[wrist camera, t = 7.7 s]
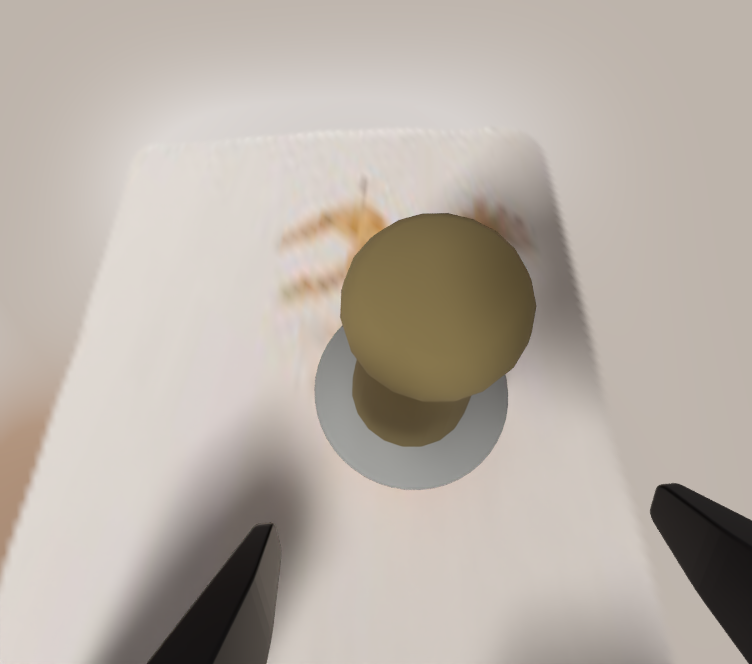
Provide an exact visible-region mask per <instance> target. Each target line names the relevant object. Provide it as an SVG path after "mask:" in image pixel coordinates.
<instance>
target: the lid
mask: <svg viewBox="0 0 752 664" xmlns="http://www.w3.org/2000/svg"><path fill="white" fill-rule="evenodd" d="M355 364H356V357H355V356H354V355H353V353H352V352H351V350H350V346H349V343H348V340H347V337H346V334H345V331H344V328H343V326H342V327H341V328H340V329H339V330H338V331H337V332H336V333H335V334H334V336H333V337H332V339H331V340H330V341H329V343H328V344H327V346H326V348H325V350H324V352H323V354H322V357H321V359H320V362H319V365H318V369H317V373H316V379H315V404H316V410H317V415H318V418H319V421H320V424H321V427H322V429H323V431H324V434H325V436H326V438H327V440H328V441H329V443H330V444H331V446H332V447H333V449H334V450H335V451H336V452H337V454H338V455H339V456H340V457H341V458H342V459H343V461H345V462H346V463H347V464H348V465H349V466H350V467H351V468H353V469H354V470H355V471H357V472H358V473H360V474H361V475H363V476H364V477H366V478H368V479H370V480H372V481H375V482H377V483H379V484H382V485H386V486H389V487H392V488H398V489H404V490H423V489H432V488H436V487H440V486H444V485H447V484H449V483H452V482H454V481H456V480H458V479H460V478H462V477H463V476H465V475H467V474H468V473H470V472H471V471H472V470H474V469H475V468H476V467H477V466H478V465H480V464H481V463H482V462H483V460H484V459H485V458H486V457H487V456H488V455H489V454H490V452H491V451H492V449H493V447H494V446H495V444H496V443H497V441H498V439H499V436H500V434H501V432H502V430H503V426H504V423H505V420H506V414H507V408H508V389H507V380H506V376H505V375H504V376H502V377H501V378H500V379H498V380H497V381H496V382H495V383H493V384H492V385H491V386H490V387H488V388H487V389H486V390H484V391H483V392H480V393H477V394H474V395H472V396H471V398H470V401H469V403H468V405H467V408H466V410H465V413H464V414H463V416H462V418H461V419H460V421H459V422H458V424H457V426H456V427H455V429H454V430H452V431H451V432H450V433H449V434H447V435H446V436H445V437H444V438H442V439H441V440H440V441H437V442H434V443H431V444H428V445H425V446H422V447H402V446H399V445H396V444H393V443H390V442H387V441H384V440H383V439H381V438H380V437H379V436H377V435H376V434H375V433H373V432H372V431H371V430H369V429H368V428H367V426H366V425H365V423H364V422H363V420H362V419H361V418H360V416H359V415H358V413H357V410H356V407H355V403H354V400H353V397H352V383H353V374H354V369H355Z"/></svg>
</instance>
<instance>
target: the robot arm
mask: <svg viewBox="0 0 752 664" xmlns="http://www.w3.org/2000/svg"><path fill="white" fill-rule="evenodd" d="M650 514H651V518H652V520H653V522H654V524H655V525H656V527H657V529H658V530H659V532H660V533H661V535H662V537H663V538H664V540H665V542H666V543H667V545H668V546H669V548H670V550H671V551H672V553H673V555H674V556H675V558H676V559H677V561H678V563H679V564H680V566H681V568H682V569H683V570H684V572H685V574H686V576H687V577H688V579H689V580H690V582H691V584H692V585H693V586H694V588H695V590H696V591H697V593H698V594H699V596H700V597H701V598H702V600H703V601H704V603H705V604H706V606H707V607H708V608H709V610H710V611H711V612H712V614H713V615H714V616H715V618H716V619H717V620H718V622H719V623H720V625H721V626H722V627H723V629H724V630H725V632H726V633H727V634H728V636H729V637H730V638H731V640H732V641H733V643H734V644H735V645H736V647H737V648H738V649H739V651H740V652H741V653H742V655H743V656H744V657H745V659H746V660H747V662H748V663H749V664H752V521H751V520H750V519H748V518H745V517H744V516H742V515H740V514H738V513H736V512H734V511H732V510H730V509H728V508H726V507H724V506H722V505H720V504H718V503H716V502H714V501H712V500H710V499H708V498H706V497H704V496H702V495H700V494H698V493H696V492H694V491H692V490H690V489H689V488H686V487H685V486H682V485H680V484H676V483H671V484H661V485H659V486H658V487H657V488H656V491H655V494H654V498H653V501H652V504H651V509H650ZM280 563H281V546H280V542H279V538H278V534H277V530H276V526H275V524H274V523H271V522H270V523H260V524H257V525H255V526H254V527H253V528H252V530H251V531H250V532H249V533H248V535H247V536H246V537H245V539H244V540H243V541H242V542H241V544H240V545H239V546H238V548H237V549H236V550H235V551H234V553H233V554H232V555H231V556H230V558H229V559H228V560H227V562H226V563H225V564H224V565H223V567H222V568H221V569H220V570H219V572H218V573H217V574H216V576H215V577H214V578H213V579H212V581H211V582H210V583H209V585H208V586H207V587H206V588H205V590H204V591H203V592H202V593H201V595H200V596H199V597H198V599H197V600H196V601H195V602H194V604H193V605H192V606H191V608H190V609H189V610H188V611H187V613H186V614H185V615H184V616H183V618H182V619H181V620H180V622H179V623H178V624H177V625H176V627H175V628H174V629H173V630H172V632H171V633H170V634H169V636H168V637H167V638H166V639H165V641H164V642H163V643H162V645H161V646H160V647H159V648H158V650H157V651H156V652H155V653H154V655H153V656H152V657H151V659H150V660H149V661H148V662H147V664H266V663H267V658H268V654H269V649H270V643H271V638H272V631H273V624H274V615H275V606H276V598H277V589H278V580H279V571H280Z"/></svg>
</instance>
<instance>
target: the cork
mask: <svg viewBox="0 0 752 664" xmlns="http://www.w3.org/2000/svg"><path fill="white" fill-rule="evenodd" d="M535 310H536V302H535V297H534V292H533V286H532V281H531V278H530V276H529V273H528V271H527V269H526V267H525V266H524V264H523V262H522V260H521V259H520V257H519V255H518V253H517V252H516V250H515V249H514V248H513V247H512V246H511V245H510V244H509V243H508V242H507V241H506V240H505V239H504V238H503V237H502V236H501V235H499V234H498V233H497V232H496V231H494V230H492V229H491V228H489V227H487V226H485V225H483V224H481V223H479V222H477V221H475V220H474V219H469V218H465V217H461V216H457V215H453V214H449V213H437V214H420V215H416V216H412V217H409V218H405V219H401V220H398V221H397V222H395V223H393V224H392V225H390V226H388V227H387V228H385V229H383V230H382V231H380V232H378V233H377V234H376V235H374V236H373V237H371V238H370V239H369V241H368V242H367V243H366V244H365V245H364V246H363V247H362V249H361V250H360V251H359V252H358V253H357V254H356V255H355V257H354V258H353V261H352V263H351V266H350V268H349V270H348V273H347V275H346V278H345V280H344V283H343V287H342V290H341V314H340V318H341V321H342V324H343V328H344V331H345V334H346V337H347V340H348V343H349V346H350V350H351V352H352V353H353V355H354V356H355V357H356V364H355V369H354V374H353V383H352V397H353V400H354V403H355V407H356V410H357V413H358V415H359V416H360V418H361V419H362V420H363V422H364V423H365V425H366V426H367V428H368V429H369V430H371V431H372V432H373V433H375V434H376V435H377V436H379V437H380V438H381V439H383V440H384V441H387V442H390V443H393V444H396V445H399V446H402V447H422V446H425V445H428V444H431V443H434V442H437V441H440V440H441V439H442V438H444V437H445V436H446V435H447V434H449V433H450V432H451V431H452V430H454V429H455V427H456V426H457V424H458V422H459V421H460V419H461V418H462V416H463V414H464V413H465V410H466V408H467V405H468V403H469V401H470V398H471V396H472V395H474V394H477V393H480V392H483V391H484V390H486V389H487V388H488V387H490V386H491V385H492V384H493V383H495V382H496V381H497V380H498V379H500V378H501V377H502V376H504V375H505V374H506V373H507V372H509V371H510V370H511V369H512V368H514V366H515V364H516V363H517V361H518V359H519V358H520V356H521V354H522V353H523V351H524V349H525V348H526V346H527V344H528V342H529V339H530V336H531V333H532V328H533V322H534V316H535Z"/></svg>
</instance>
